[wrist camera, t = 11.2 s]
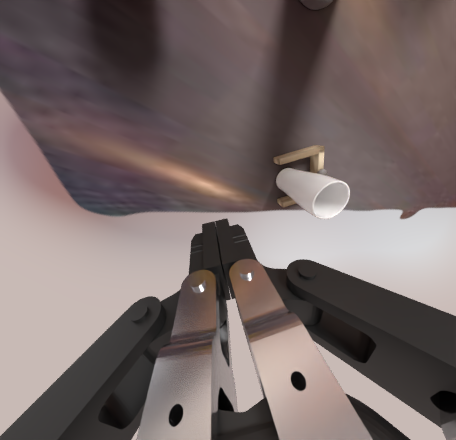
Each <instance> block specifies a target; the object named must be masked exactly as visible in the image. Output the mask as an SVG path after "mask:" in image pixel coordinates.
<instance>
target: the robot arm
mask: <svg viewBox="0 0 456 440" xmlns="http://www.w3.org/2000/svg"><path fill="white" fill-rule="evenodd" d="M300 1H301V2H302V3H303V5H304V6H306V7H307V8H309V9H312V10H320V9H322V8H325V7H326V6H328V5H329V4H330V3H331V2H332V1H333V0H300ZM215 222H216V225H215ZM215 222H210V223H206V224H202V233H200V234H196V235H195V236H194V237H193V239H192V241H191V252H190V253H191V254H190V267H189V275H188V276H187V277H186V278H185V280H184V281H183V283H182V286H181V289H180V290H179V291H178V292H177V293H175V294H174V295H172V296H170V297H168V298H166V299H164V300H163V301H161V302H160V301H159V299H157V298H156V297H146V298H143V299H140V300H139V301H137V302H135V303H134V304H133V305H132V306H131V307H130V308H129V309H128V310H127V311H126V312H125V313H124V314H123V315H122V316H121V317H120V318H119V319H118V320H116V321H115V323H114V324H113V325H112V326H110V328H108V329H107V331H105V332H104V333H103V334H102V336H100V337H99V338H98V340H96V341H95V343H94V344H92V345H91V346H90V347H89V348H88V349H87V350H86V352H84V353H83V354H82V356H81V357H79V358H78V359H77V360H76V361H75V362H74V364H72V365H71V366H70V368H68V369H67V370H66V371H65V372H64V374H62V375H61V376H60V377H59V378H58V379H57V380H56V381H55V382H54V383H53V384H52V385H51V386H50V387H49V388H48V389H47V391H45V392H44V393H43V394H42V395H41V396H40V397H39V398H38V399H37V400H36V401H35V402H34V403H33V404H32V405H31V406H30V407H29V408H28V409H27V410H26V411H25V412H24V413H23V414H22V415H21V416H20V417H19V418H18V419H17V420H16V421H15V422H14V423H13V424H12V425H11V426H10V427H9V428H8V429H7V430H6V431H5V432H4V433H3V434H2V435H1V436H0V440H131V439H132V437H133V436H134V434H135V433H136V431H137V429H138V428H139V431H138V435H137V439H136V440H410V439H409V438H408V437H406V436H405V435H404V434H403V433H402V432H400V431H399V430H398V429H397V428H395V427H393V425H392V424H390V423H389V422H388V421H386V420H385V419H384V418H383V417H382V416H380V415H379V414H378V413H376V412H375V411H374V410H373V409H371V408H369V407H368V406H367V405H365V404H364V403H362V402H360V401H359V400H357V399H355V398H353V397H351V396H350V395H348V394H345V393H344V391H343V390H342V388H341V386H340V385H339V383H338V381H337V380H336V378H335V376H334V375H333V373H332V371H331V370H330V368H329V366H328V365H327V363H326V361H325V360H324V358H323V356H322V355H321V353H320V351H319V350H318V348H317V346H316V345H315V343H314V342H313V341H315V342H316V343H318V344H319V345H321V346H322V347H324V348H325V349H326V350H328V351H329V352H331V353H332V354H334V355H335V356H337V357H338V358H340V359H341V360H343V361H344V362H345V363H347V364H349V365H350V366H351V367H353V368H354V369H356V370H357V371H359V372H360V373H362V374H363V375H364V376H366V377H367V378H369V379H370V380H372V381H373V382H375V383H376V384H378V385H379V386H381V387H382V388H384V389H385V390H386V391H388V392H389V393H391V394H392V395H394V396H395V397H397V398H398V399H400V400H401V401H402V402H404V403H405V404H407V405H408V406H410V407H411V408H413V409H414V410H416V411H417V412H419V413H420V414H421V415H423V416H425V417H426V418H427V419H429V420H430V421H432V422H433V423H435V424H436V425H438V426H439V427H440V428H442V430H443V433H444V435H445V438H446V440H456V316H454V315H451V314H449V313H446V312H443V311H441V310H438V309H436V308H433V307H431V306H428V305H425V304H423V303H420V302H417V301H415V300H412V299H410V298H407V297H405V296H402V295H399V294H397V293H394V292H392V291H389V290H387V289H384V288H381V287H379V286H376V285H373V284H371V283H368V282H366V281H363V280H361V279H358V278H355V277H353V276H350V275H348V274H345V273H342V272H340V271H337V270H334V269H332V268H329V267H327V266H324V265H321V264H319V263H316V262H314V261H311V260H296V261H294V262H292V263H290V264H289V266H288V267H287V269H272V268H268V267H265V266H263V265H262V264H260V263H259V262H258V261H257V259H256V257H255V254H254V252H253V250H252V247H251V245H250V243H249V240H248V238H247V236H246V233H245V231H244V229H243V228H242V227H241V226H239V225H238V224H237V225H233V226H229V223H228V220H227V219H222V220H219V221H215ZM228 286H229V287H228ZM229 290H230V293H231V297H232V299H234V298H235V299H236V303H237V307H238V311H239V314H240V318H241V321H242V325H243V328H244V332H245V335H246V338H247V342H248V345H249V349H250V352H251V356H252V359H253V362H254V366H255V370H256V373H257V377H258V380H259V384H260V387H261V391H262V394H263V398H264V399H262V400H261V401H260V402H258V403H257V404H256V405H254V406H253V407H252V408H250V409H249V410H248V411H246V412H241V413H239V412H238V410H237V398H236V389H235V382H234V377H233V371H232V361H231V347H230V334H229V321H228V315H227V312H228V311H227V304H226V300H230V299H231V298H230V293H229ZM139 426H140V427H139Z"/></svg>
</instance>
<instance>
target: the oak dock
mask: <svg viewBox="0 0 456 440" xmlns="http://www.w3.org/2000/svg"><path fill="white" fill-rule="evenodd" d="M309 156H310V172H312V173H317V174H322V175H327V171H326V170H324V169H323V164H324V146H319V145H314V146H311V147H307V148H304V149H300V150H297V151H294V152H290V153H287V154H283V155H280V156H276V157H273V158H274V163H276V164H279V165H282V164H285V163H289V162H292V161H295V160H299V159H302V158H306V157H309ZM277 201H278V204H280V205H281V206H282V207H283V208H284V207H287V206H290V205H293V204H297V203H296V202H295V201H294V200H293V199H291V198H290V197H289V196H285V197H282V198H278V199H277Z"/></svg>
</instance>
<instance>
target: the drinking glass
mask: <svg viewBox="0 0 456 440" xmlns="http://www.w3.org/2000/svg"><path fill="white" fill-rule="evenodd" d="M276 184H277V186H278V188H279V189H281V190H282V191H283V192H285V193H286V194H287V195H288V196H289V197H290V198H291V199H293V200H294V201H295V202H296V203H297V204H298V205H299V206H301V207H302V208H303V209H304V210H306V211H307V212H309V213H310V214H312V215H314V216H315V217H317V218H319V219H328V218H331V217H333V216H335V215H337V214H338V213H339V212H341V211H342V210H343V208H344V207H345V206H346V204H347V202H348V200H349V196H350V190H349V187H348V185H347V184H346V183H345V182H343V181H340V180H338V179H335V178H332V177H329V176H326V175H322V174H317V173H312V172H306V171H301V170H296V169H293V168H285V169H283V170H282V171H280V172H279V174H278V175H277V178H276Z"/></svg>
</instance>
